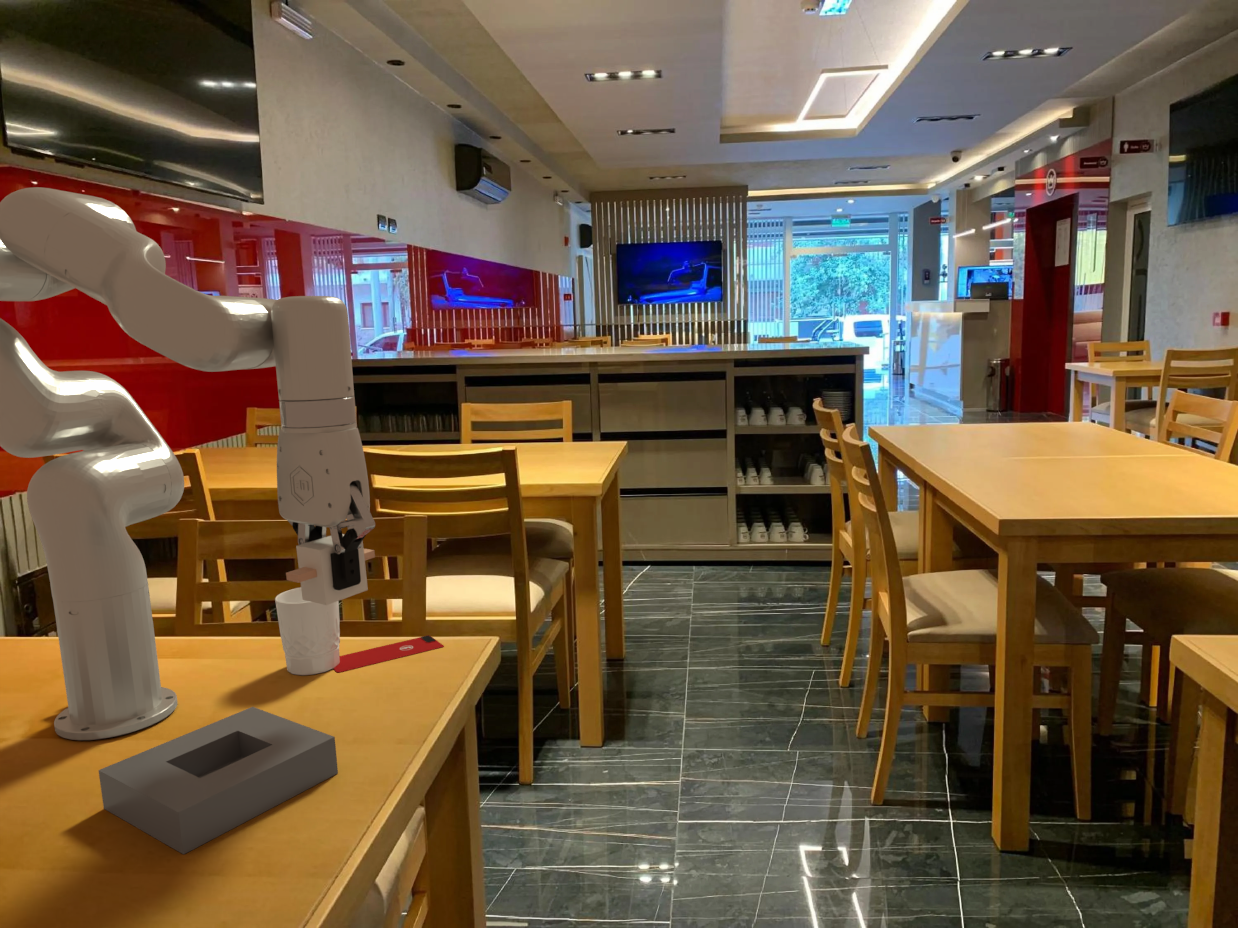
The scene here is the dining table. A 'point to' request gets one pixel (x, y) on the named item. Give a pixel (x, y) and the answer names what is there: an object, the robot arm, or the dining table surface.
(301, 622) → the white cup
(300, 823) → the dining table surface
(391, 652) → the electronic device
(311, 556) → the block
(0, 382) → the robot arm
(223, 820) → the block
